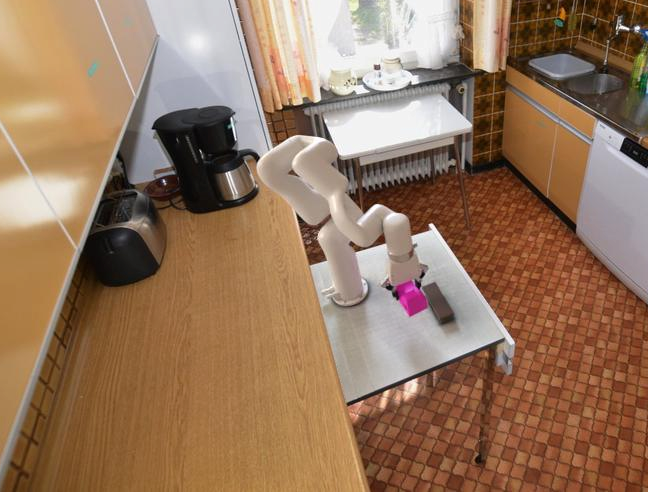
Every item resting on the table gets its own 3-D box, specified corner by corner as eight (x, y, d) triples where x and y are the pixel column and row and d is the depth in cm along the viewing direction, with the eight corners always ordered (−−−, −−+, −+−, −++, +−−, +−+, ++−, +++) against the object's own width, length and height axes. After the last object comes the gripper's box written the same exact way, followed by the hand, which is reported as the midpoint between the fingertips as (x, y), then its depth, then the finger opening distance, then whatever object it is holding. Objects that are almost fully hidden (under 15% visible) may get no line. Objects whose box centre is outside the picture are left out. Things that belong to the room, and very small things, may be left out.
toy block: (427, 308, 135) (425, 291, 131) (409, 317, 133) (406, 300, 129) (406, 277, 146) (403, 261, 142) (389, 285, 144) (386, 269, 140)
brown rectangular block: (422, 291, 153) (422, 286, 151) (435, 286, 154) (435, 281, 153) (440, 324, 141) (439, 318, 139) (454, 318, 142) (454, 313, 141)
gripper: (422, 234, 135) (427, 275, 144) (368, 253, 129) (377, 294, 139) (432, 249, 129) (437, 291, 138) (376, 270, 123) (384, 312, 133)
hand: (407, 292), depth 138 cm, fingers closed on toy block, 6 cm apart
